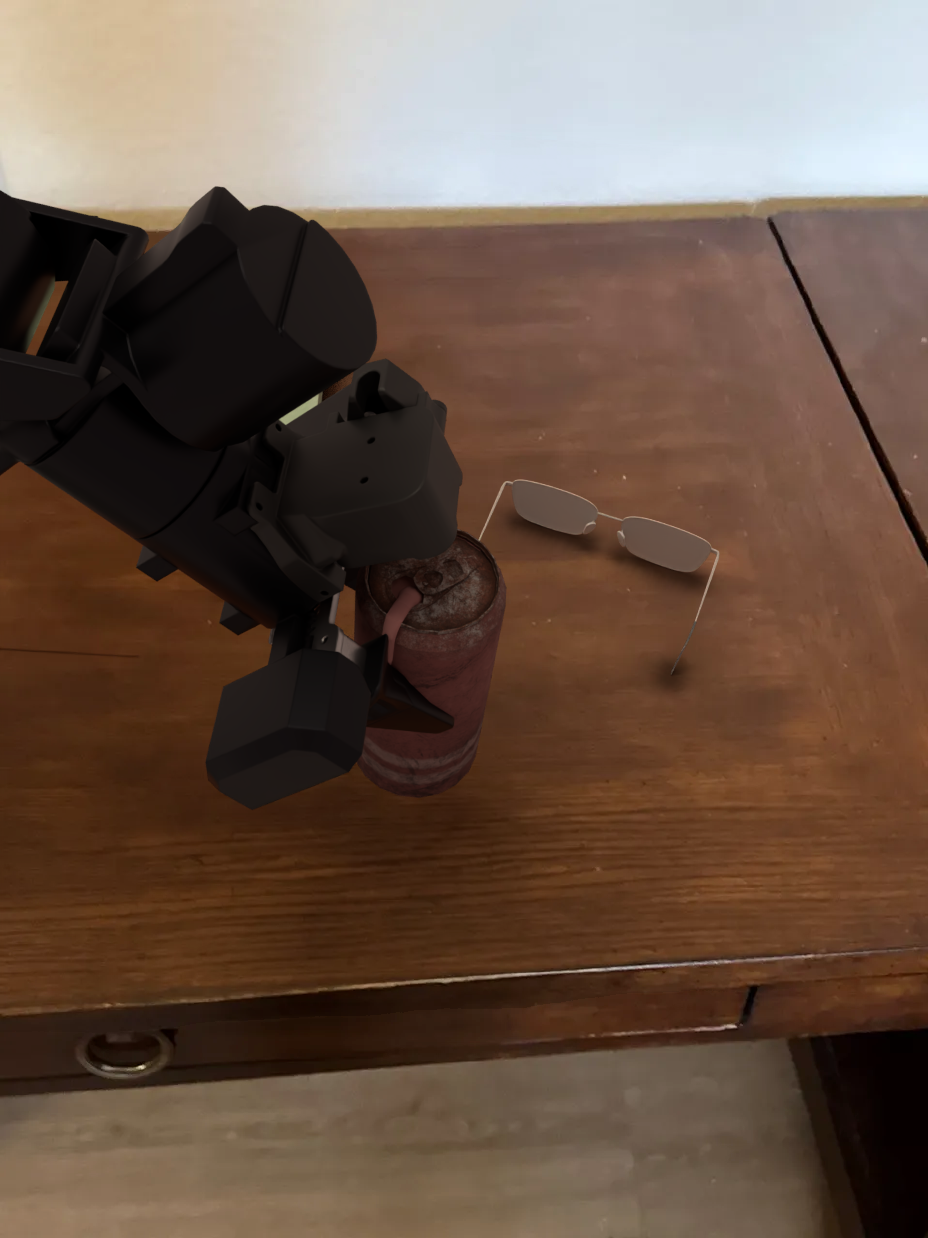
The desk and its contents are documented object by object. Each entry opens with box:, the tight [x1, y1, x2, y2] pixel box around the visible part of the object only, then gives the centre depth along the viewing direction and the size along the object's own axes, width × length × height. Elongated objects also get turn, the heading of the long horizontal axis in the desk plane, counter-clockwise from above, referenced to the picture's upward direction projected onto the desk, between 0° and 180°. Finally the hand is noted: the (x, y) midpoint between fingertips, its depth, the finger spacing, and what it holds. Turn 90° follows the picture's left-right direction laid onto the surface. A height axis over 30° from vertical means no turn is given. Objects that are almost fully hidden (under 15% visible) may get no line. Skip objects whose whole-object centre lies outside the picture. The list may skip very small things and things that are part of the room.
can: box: [353, 528, 508, 799], centre depth 54 cm, size 6×6×14 cm
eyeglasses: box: [478, 479, 720, 675], centre depth 73 cm, size 14×8×4 cm, turn 69°
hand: (451, 677), depth 54 cm, fingers closed on can, 5 cm apart
